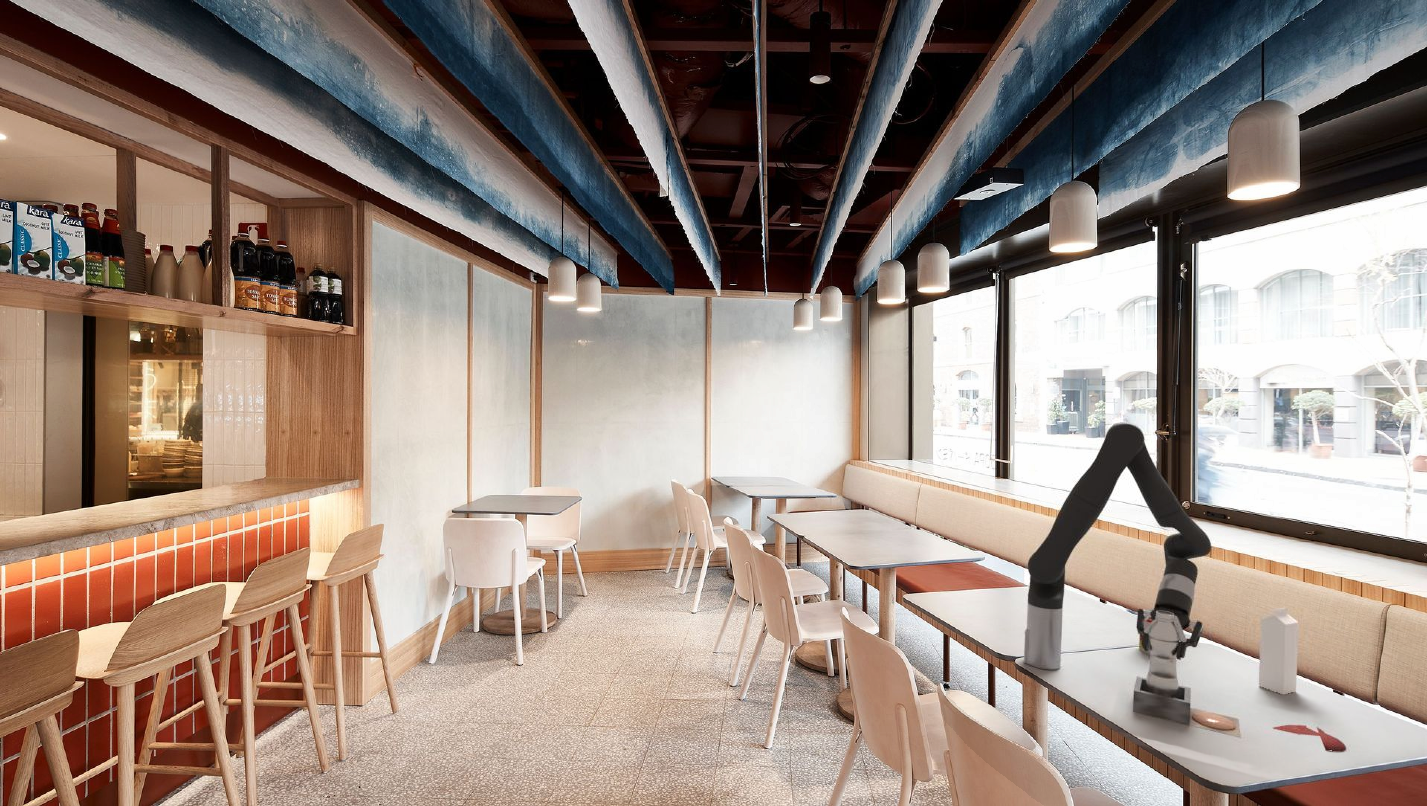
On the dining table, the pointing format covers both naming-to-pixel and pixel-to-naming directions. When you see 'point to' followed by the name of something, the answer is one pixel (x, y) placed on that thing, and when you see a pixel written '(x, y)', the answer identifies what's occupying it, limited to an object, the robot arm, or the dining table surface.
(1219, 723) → the terracotta coaster
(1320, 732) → the red flat piece
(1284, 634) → the milk
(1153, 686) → the plastic bottle
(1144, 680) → the wooden organizer tray
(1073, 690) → the dining table surface
